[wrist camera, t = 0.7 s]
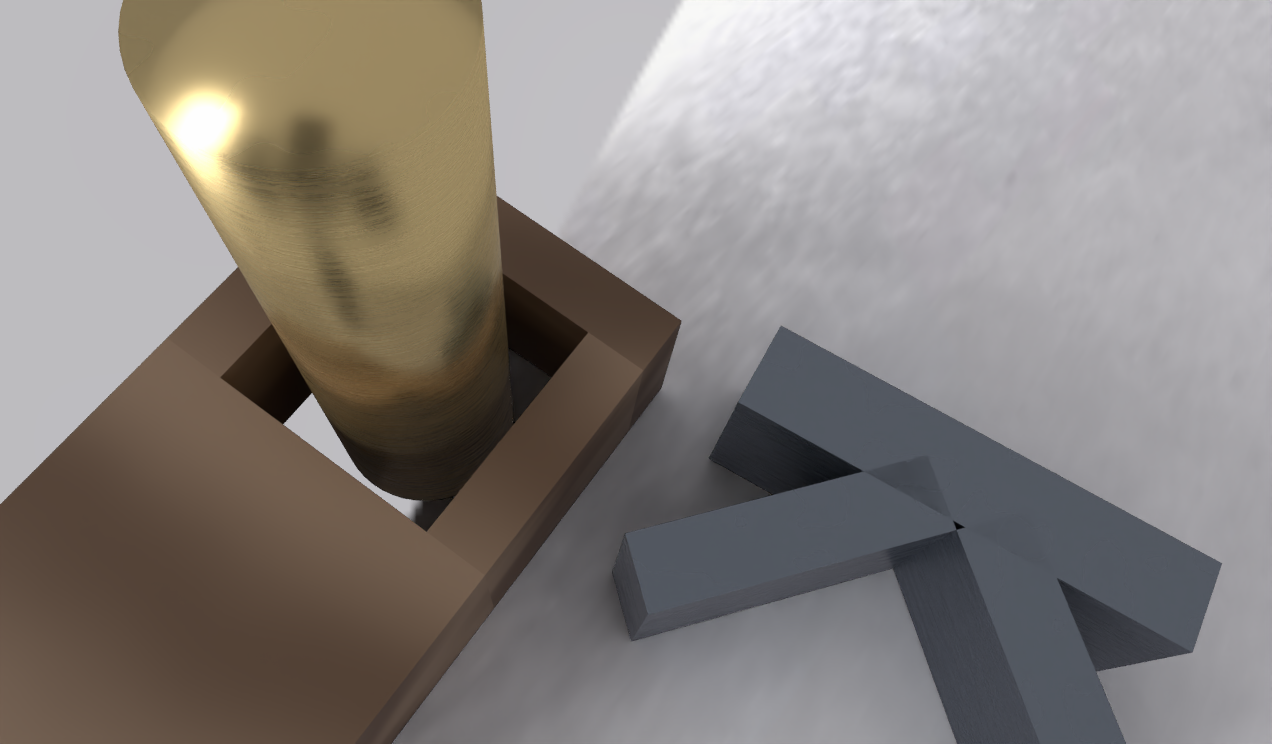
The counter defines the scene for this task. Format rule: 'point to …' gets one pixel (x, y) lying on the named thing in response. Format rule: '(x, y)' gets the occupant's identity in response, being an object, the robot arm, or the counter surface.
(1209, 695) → the counter surface
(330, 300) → the brass axle
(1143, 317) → the counter surface
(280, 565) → the wooden socket block
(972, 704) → the steel V-block
